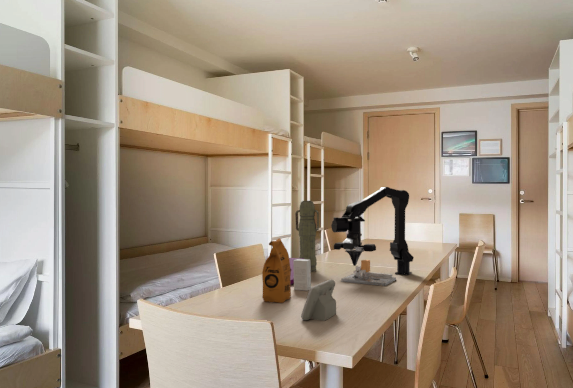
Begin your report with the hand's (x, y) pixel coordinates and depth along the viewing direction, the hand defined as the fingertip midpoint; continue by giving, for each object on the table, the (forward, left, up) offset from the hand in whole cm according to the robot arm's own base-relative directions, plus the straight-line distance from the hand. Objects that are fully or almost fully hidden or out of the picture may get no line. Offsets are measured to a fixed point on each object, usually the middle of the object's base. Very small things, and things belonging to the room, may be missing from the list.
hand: (354, 265), depth 205 cm
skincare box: (+33, -9, -6) cm, 35 cm away
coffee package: (+52, -9, -6) cm, 53 cm away
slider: (+2, +5, -4) cm, 7 cm away
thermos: (-7, -29, -6) cm, 30 cm away
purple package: (+22, -22, -6) cm, 32 cm away
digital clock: (+64, +15, -6) cm, 66 cm away
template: (+4, +8, -5) cm, 11 cm away
